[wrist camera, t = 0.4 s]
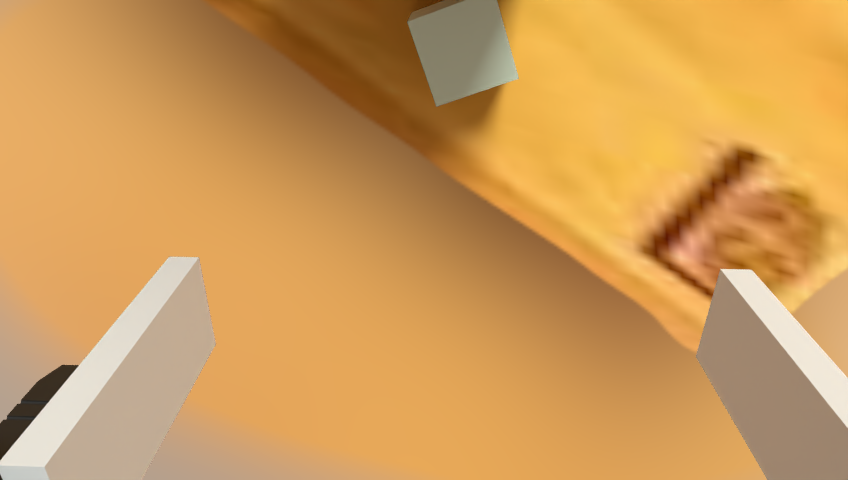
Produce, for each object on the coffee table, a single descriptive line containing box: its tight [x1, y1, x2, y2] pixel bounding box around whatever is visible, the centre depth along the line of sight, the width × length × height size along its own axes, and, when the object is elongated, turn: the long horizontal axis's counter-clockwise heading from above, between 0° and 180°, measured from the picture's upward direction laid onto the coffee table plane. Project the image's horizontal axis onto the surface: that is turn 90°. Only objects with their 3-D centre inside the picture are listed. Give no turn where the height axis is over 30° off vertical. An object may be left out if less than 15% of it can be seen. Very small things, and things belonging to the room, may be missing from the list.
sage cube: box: [407, 0, 519, 107], centre depth 36 cm, size 5×5×5 cm
